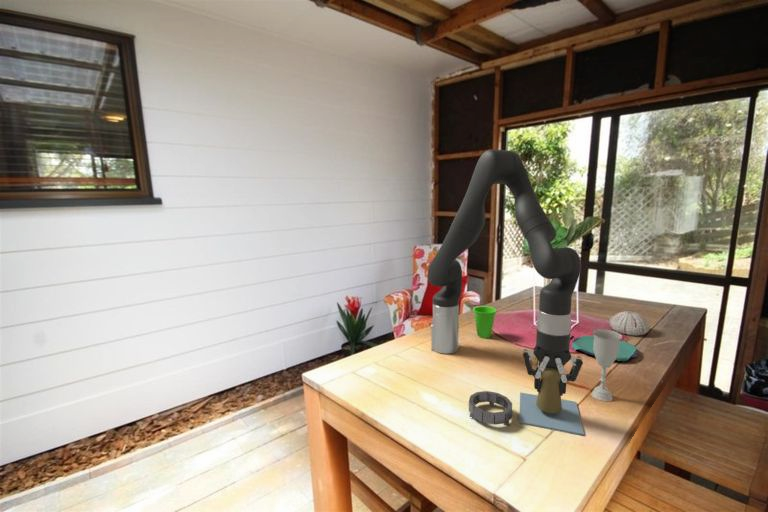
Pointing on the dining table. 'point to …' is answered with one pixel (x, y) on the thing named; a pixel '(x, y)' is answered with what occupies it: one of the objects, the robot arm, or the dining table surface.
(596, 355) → the chalice
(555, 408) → the cork
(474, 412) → the grey segmented ring
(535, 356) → the dice set
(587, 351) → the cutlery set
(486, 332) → the cup
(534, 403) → the rubber mat
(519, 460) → the dining table surface
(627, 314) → the sea urchin shell
